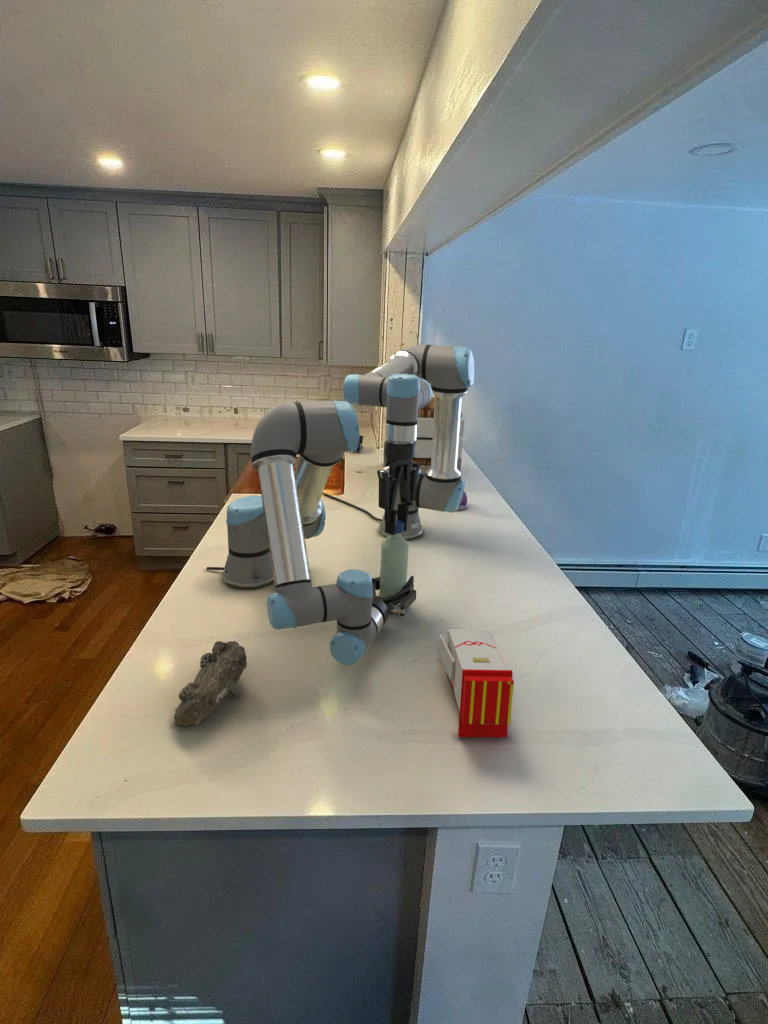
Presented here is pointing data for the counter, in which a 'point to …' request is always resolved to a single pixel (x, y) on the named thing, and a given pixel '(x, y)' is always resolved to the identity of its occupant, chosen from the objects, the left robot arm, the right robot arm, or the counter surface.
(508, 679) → the toy
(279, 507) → the left robot arm
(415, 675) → the counter surface
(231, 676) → the fossil
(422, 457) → the white slatted crate
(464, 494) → the figurine
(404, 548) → the bottle
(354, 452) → the figurine character
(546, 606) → the counter surface
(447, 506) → the right robot arm
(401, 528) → the cap
